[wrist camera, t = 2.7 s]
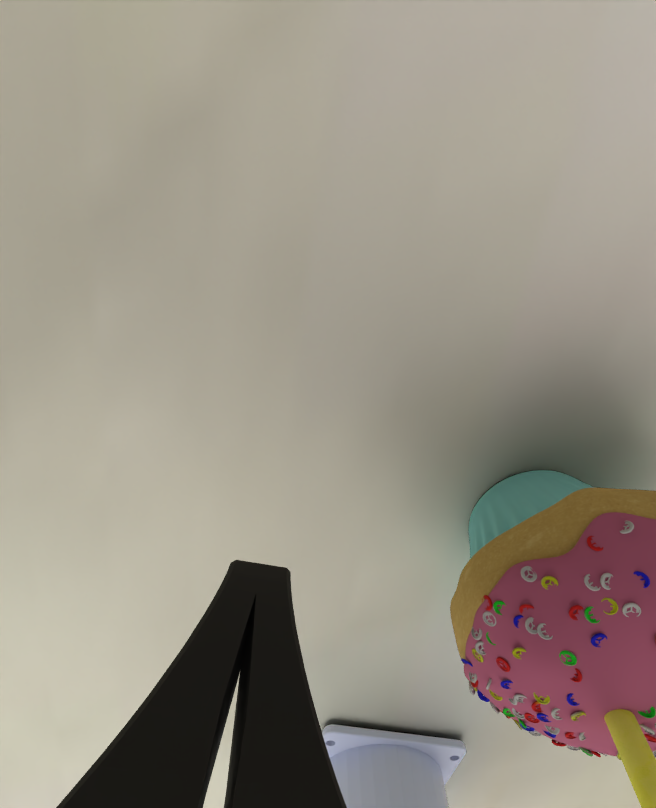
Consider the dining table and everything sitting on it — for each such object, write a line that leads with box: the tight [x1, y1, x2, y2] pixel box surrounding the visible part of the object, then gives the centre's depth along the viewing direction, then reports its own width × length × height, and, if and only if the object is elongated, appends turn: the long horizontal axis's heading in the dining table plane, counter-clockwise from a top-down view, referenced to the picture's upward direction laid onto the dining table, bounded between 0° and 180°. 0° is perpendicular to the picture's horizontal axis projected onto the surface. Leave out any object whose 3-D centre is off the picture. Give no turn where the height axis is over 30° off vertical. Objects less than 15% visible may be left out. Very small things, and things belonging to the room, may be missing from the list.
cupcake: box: [450, 470, 656, 808], centre depth 10 cm, size 9×8×12 cm
